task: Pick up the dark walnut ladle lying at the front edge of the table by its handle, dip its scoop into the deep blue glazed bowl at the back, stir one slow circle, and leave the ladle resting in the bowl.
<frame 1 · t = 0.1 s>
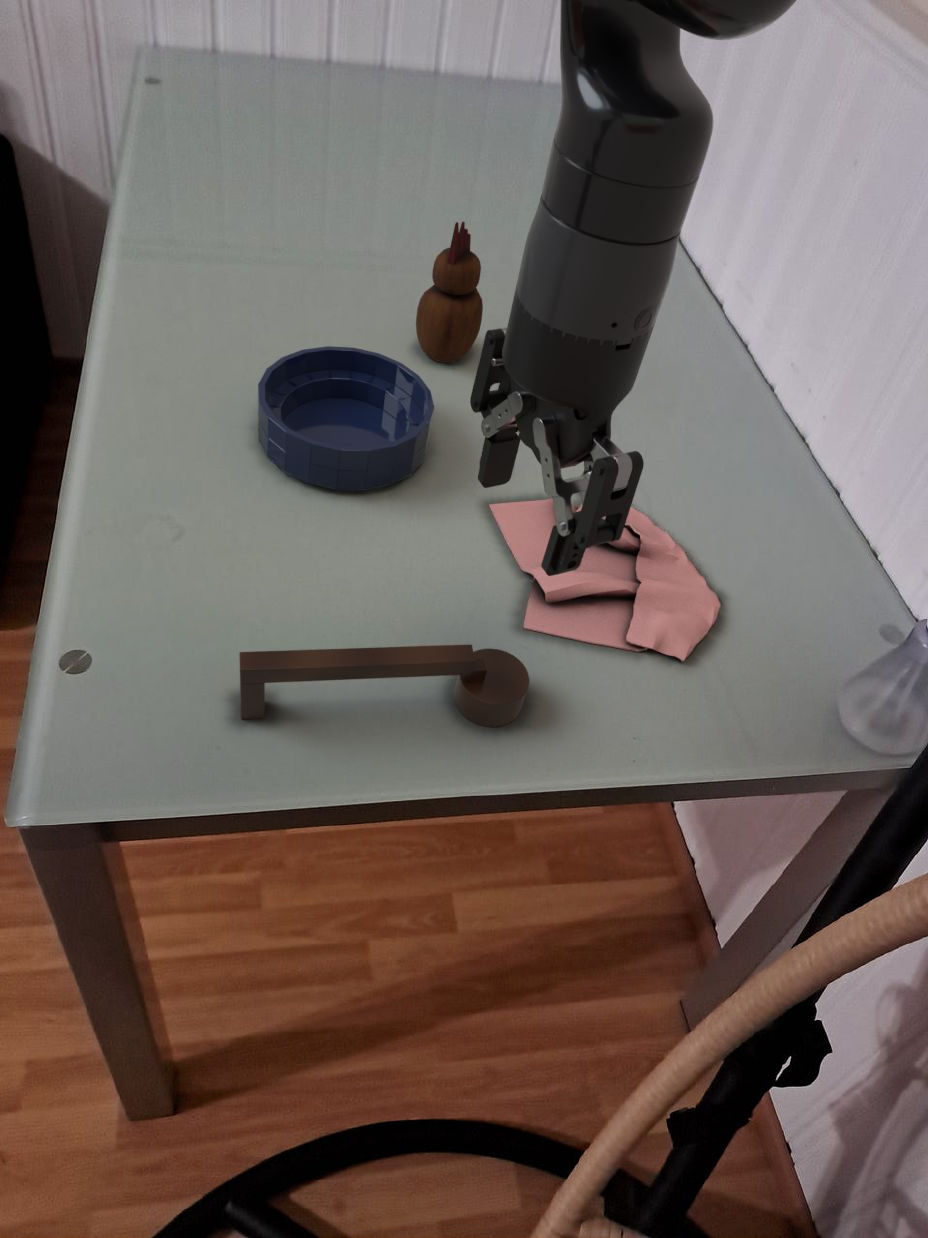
hand: (524, 524, 61), 16 cm above the table, tool pointing down, fingers open, 8 cm apart
wooden figurine: (443, 354, 102), on the table
ladle: (368, 704, 69), on the table
bowl: (343, 440, 89), on the table
cloth: (598, 565, 83), on the table
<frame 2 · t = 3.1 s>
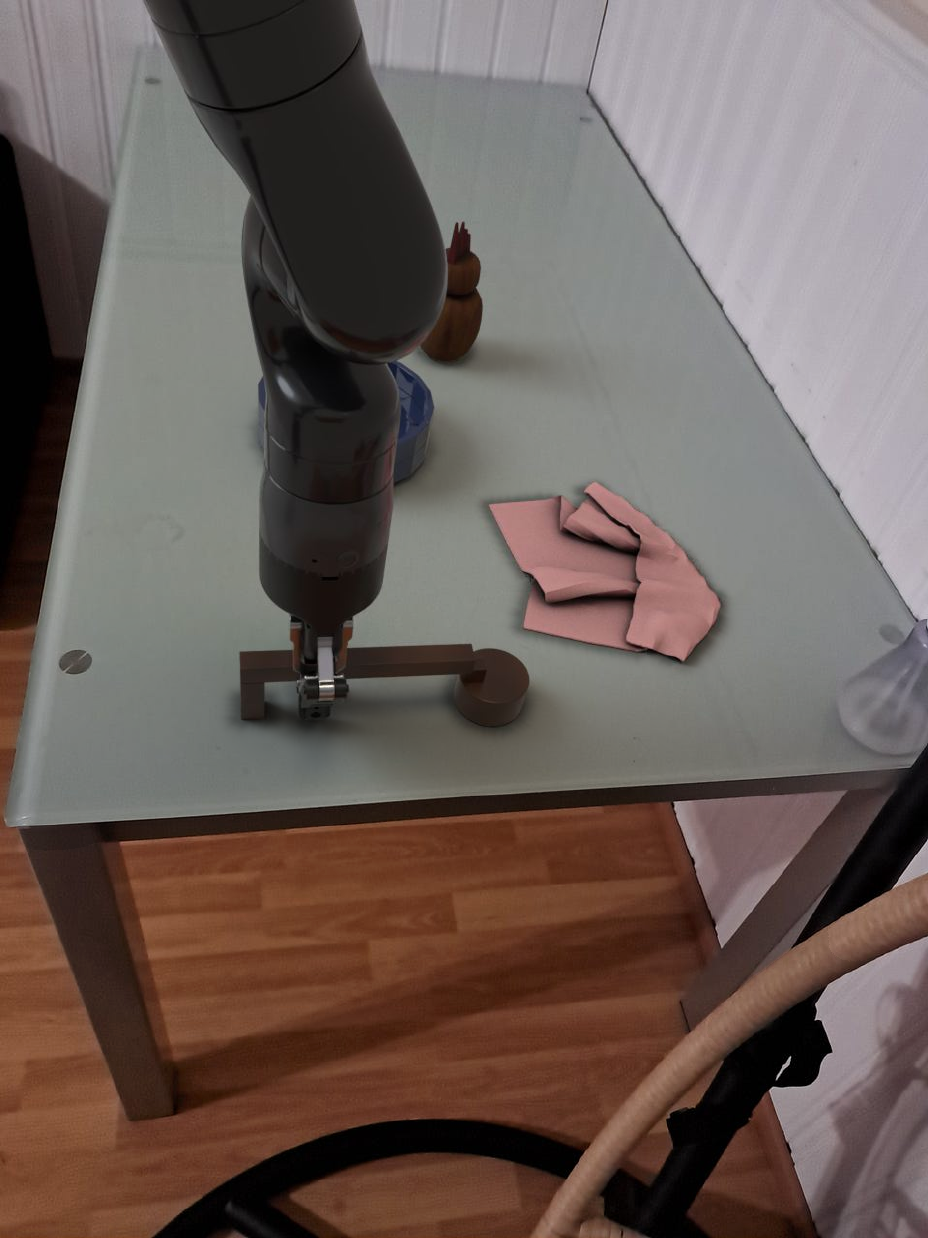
hand: (312, 702, 68), 1 cm above the table, tool pointing down, fingers closed on ladle
ladle: (368, 704, 69), on the table, touching gripper
everything else where it was.
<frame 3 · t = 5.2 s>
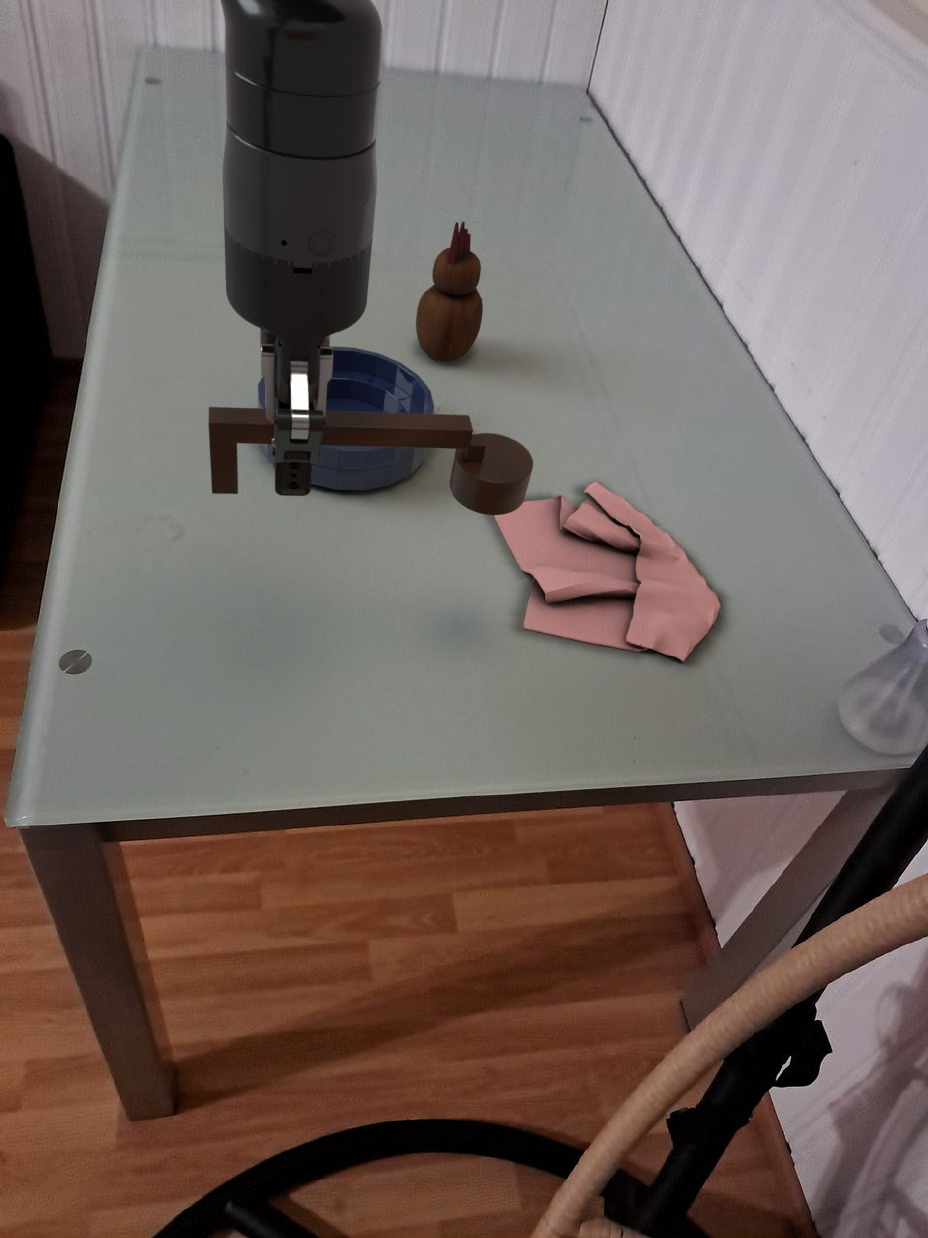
hand: (291, 480, 61), 15 cm above the table, tool pointing down, fingers closed on ladle
ladle: (354, 487, 62), point 15 cm above the table, touching gripper
everything else where it was.
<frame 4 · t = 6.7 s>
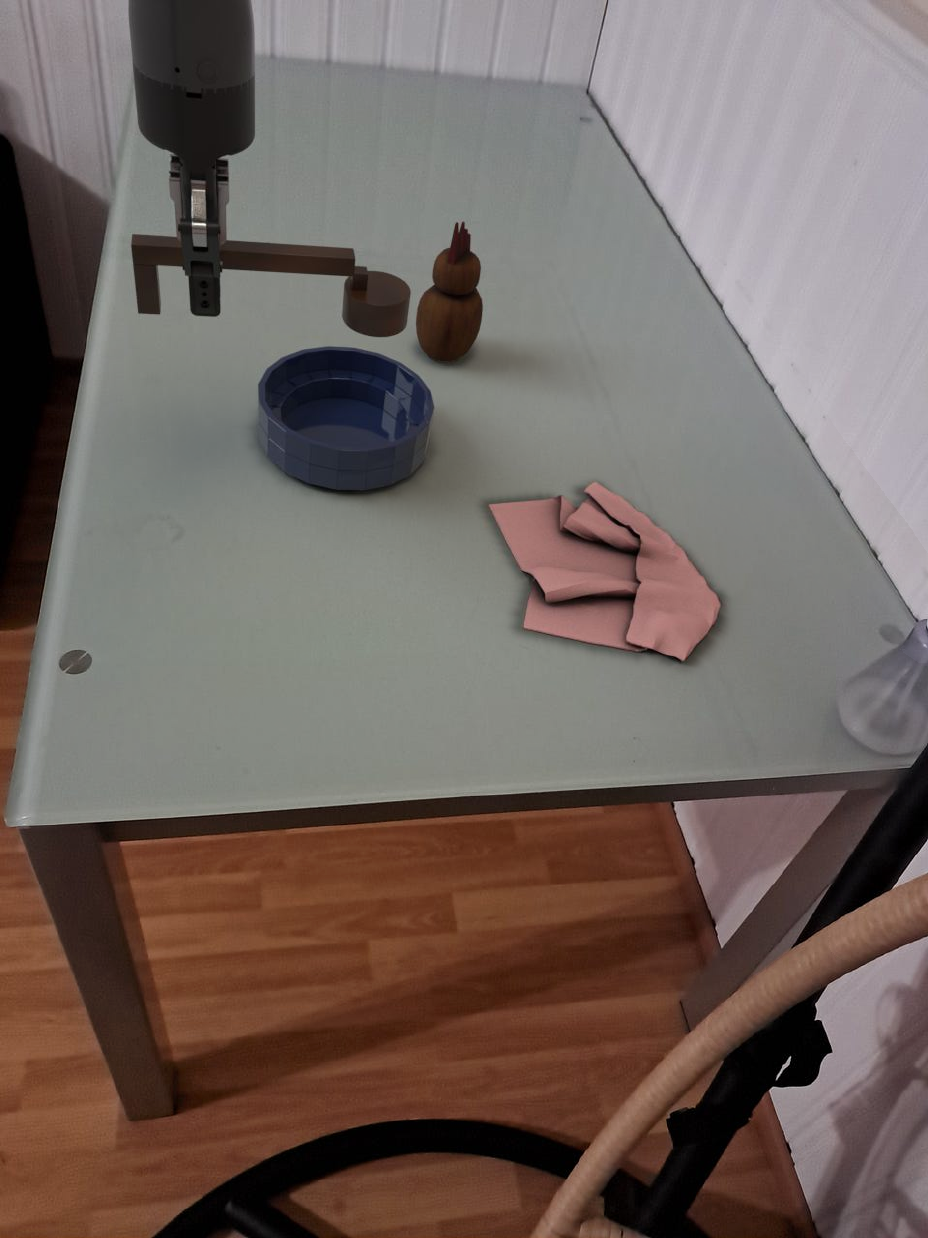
hand: (205, 305, 73), 15 cm above the table, tool pointing down, fingers closed on ladle
ladle: (259, 313, 74), point 15 cm above the table, touching gripper
everything else where it was.
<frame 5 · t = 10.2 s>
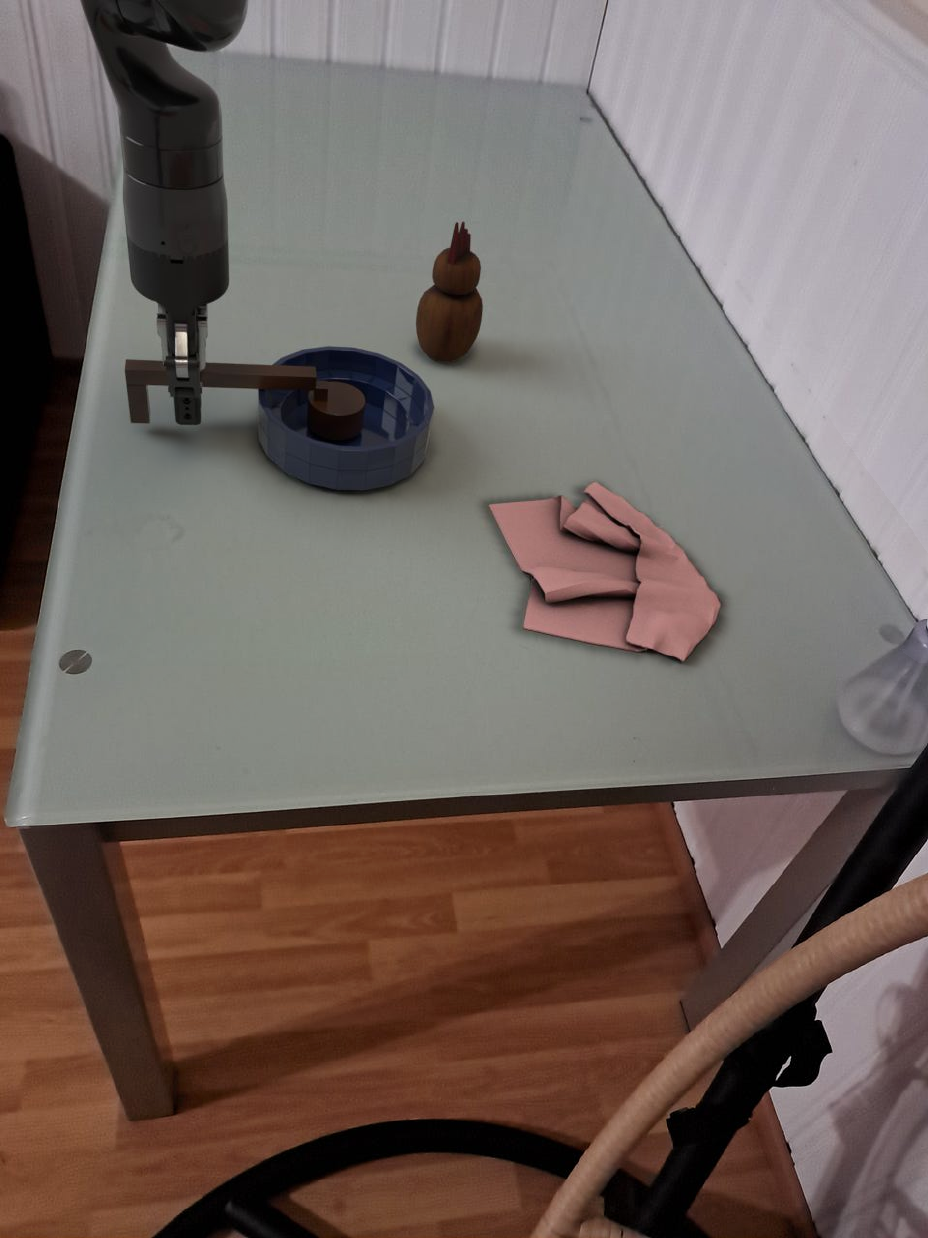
hand: (188, 414, 85), 2 cm above the table, tool pointing down, fingers closed on ladle
ladle: (235, 420, 86), point 1 cm above the table, touching gripper
everything else where it was.
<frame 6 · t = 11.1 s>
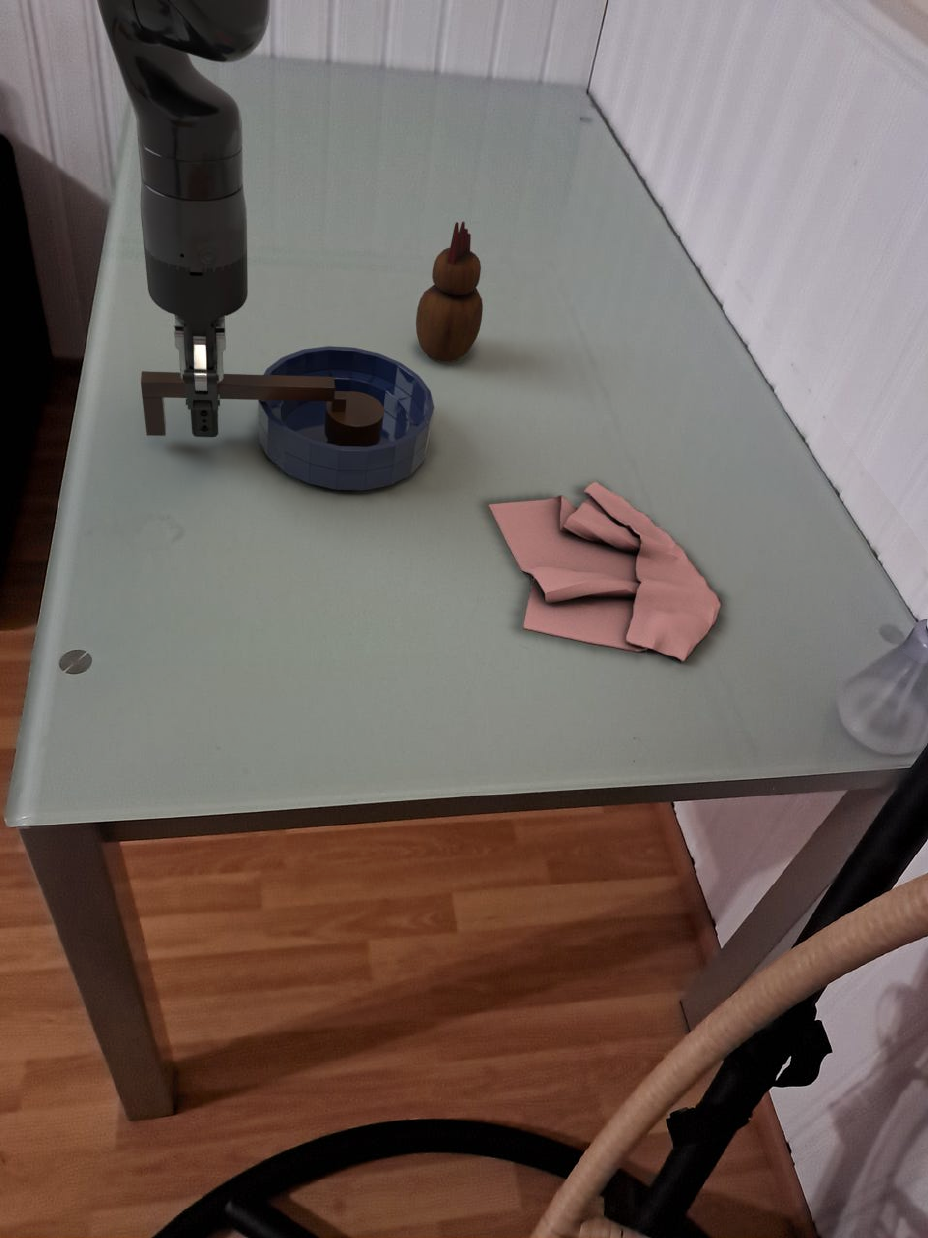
hand: (205, 426, 84), 2 cm above the table, tool pointing down, fingers closed on ladle
ladle: (252, 431, 85), point 2 cm above the table, touching gripper
everything else where it was.
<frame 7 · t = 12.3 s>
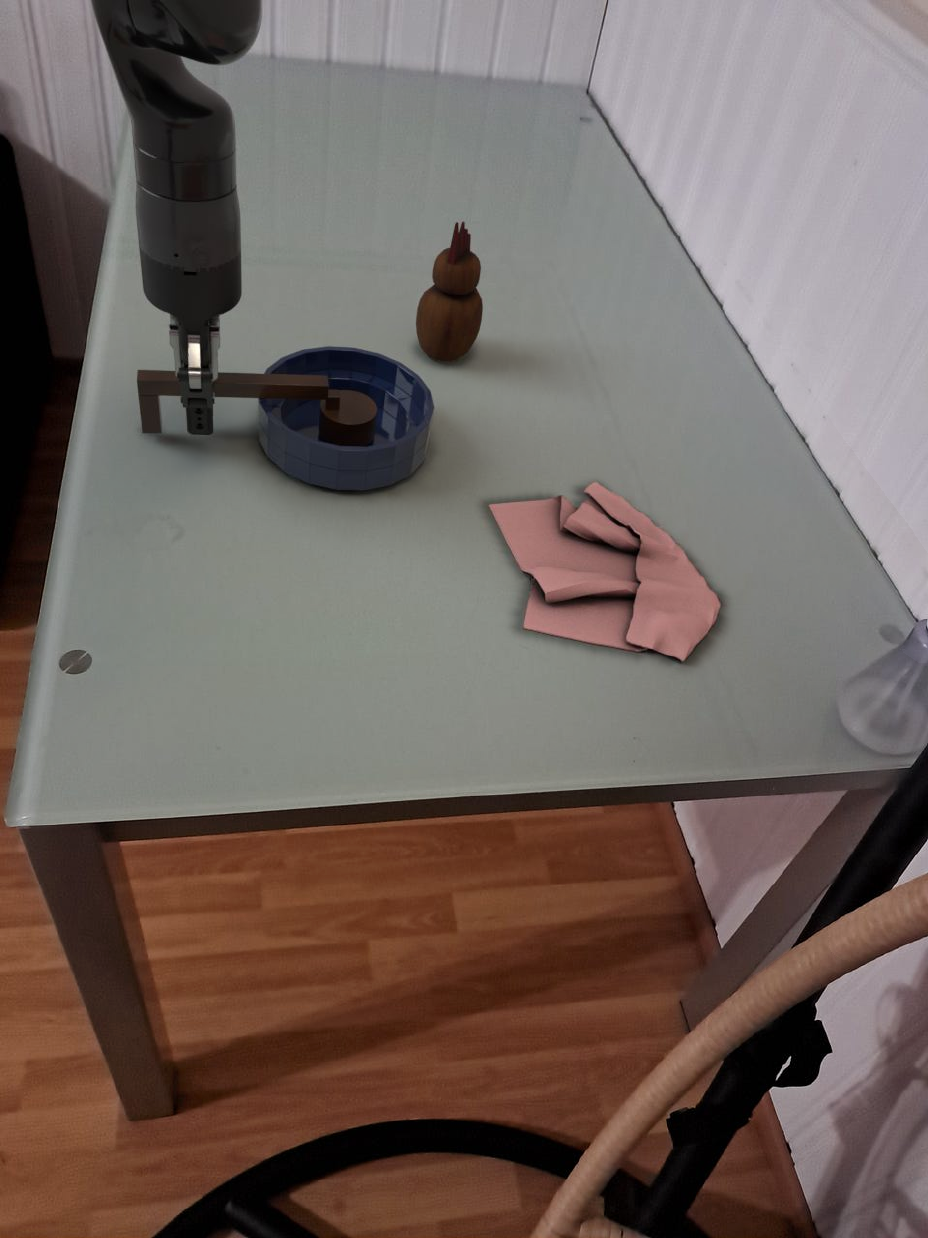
hand: (200, 424, 85), 2 cm above the table, tool pointing down, fingers closed on ladle
ladle: (247, 429, 86), point 1 cm above the table, touching gripper
everything else where it was.
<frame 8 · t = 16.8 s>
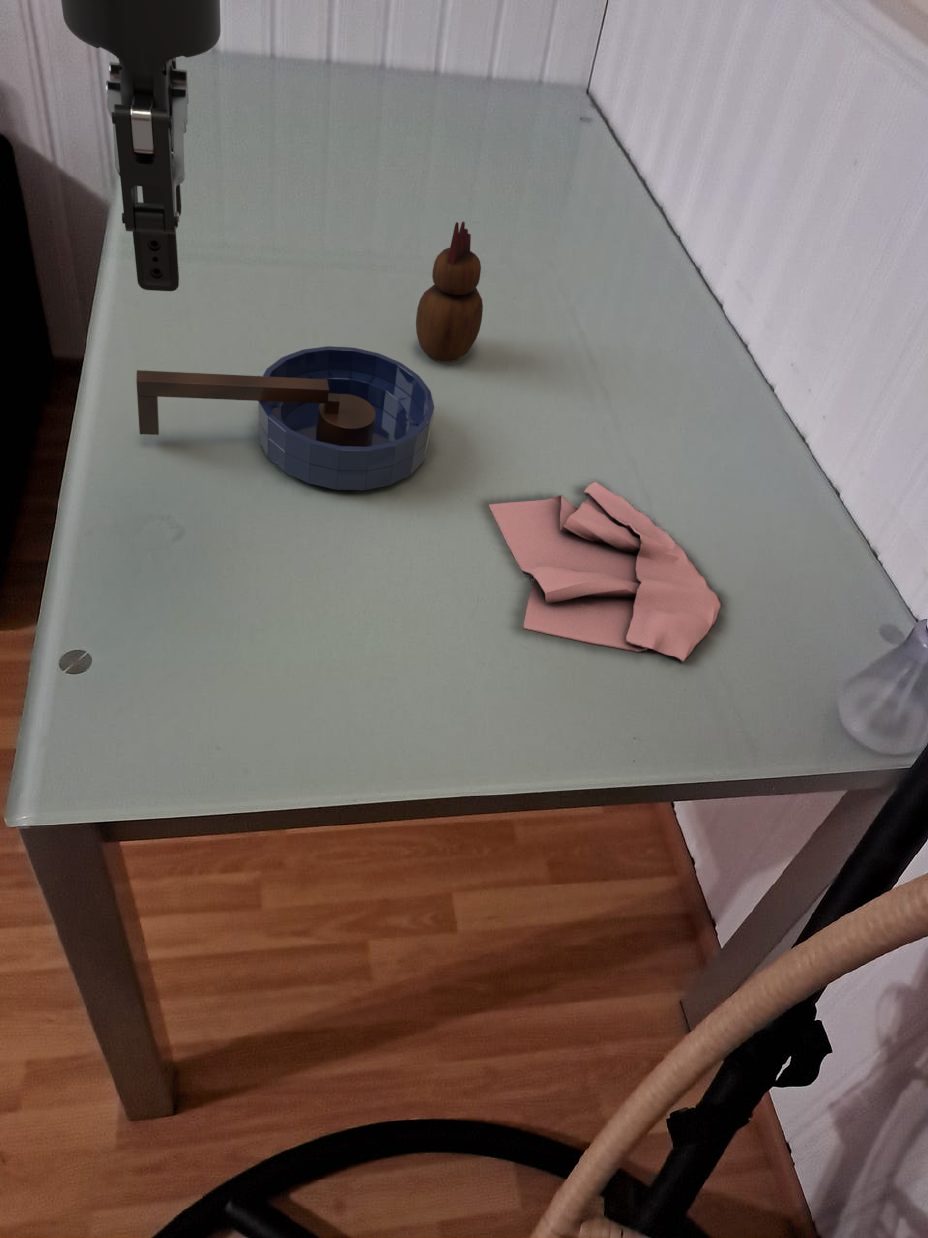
hand: (161, 249, 57), 26 cm above the table, tool pointing down, fingers open, 8 cm apart
ladle: (244, 432, 86), point 1 cm above the table, touching bowl
everything else where it was.
at the end: ladle touching bowl; the gripper is holding nothing; ladle 9.0 cm from the bowl (horizontally) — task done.
